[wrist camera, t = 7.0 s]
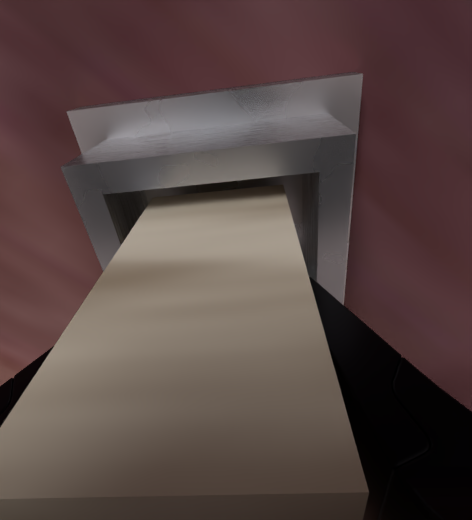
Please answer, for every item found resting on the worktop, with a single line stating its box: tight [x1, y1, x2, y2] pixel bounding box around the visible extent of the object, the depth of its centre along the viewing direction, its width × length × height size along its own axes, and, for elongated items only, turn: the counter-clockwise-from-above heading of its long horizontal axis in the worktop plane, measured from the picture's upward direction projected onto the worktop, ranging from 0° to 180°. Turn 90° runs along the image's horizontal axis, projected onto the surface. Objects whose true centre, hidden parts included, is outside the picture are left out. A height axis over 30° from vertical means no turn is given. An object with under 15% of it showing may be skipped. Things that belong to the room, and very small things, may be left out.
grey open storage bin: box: [61, 72, 363, 305], centre depth 11 cm, size 9×9×4 cm
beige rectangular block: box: [0, 185, 369, 520], centre depth 7 cm, size 4×4×8 cm
